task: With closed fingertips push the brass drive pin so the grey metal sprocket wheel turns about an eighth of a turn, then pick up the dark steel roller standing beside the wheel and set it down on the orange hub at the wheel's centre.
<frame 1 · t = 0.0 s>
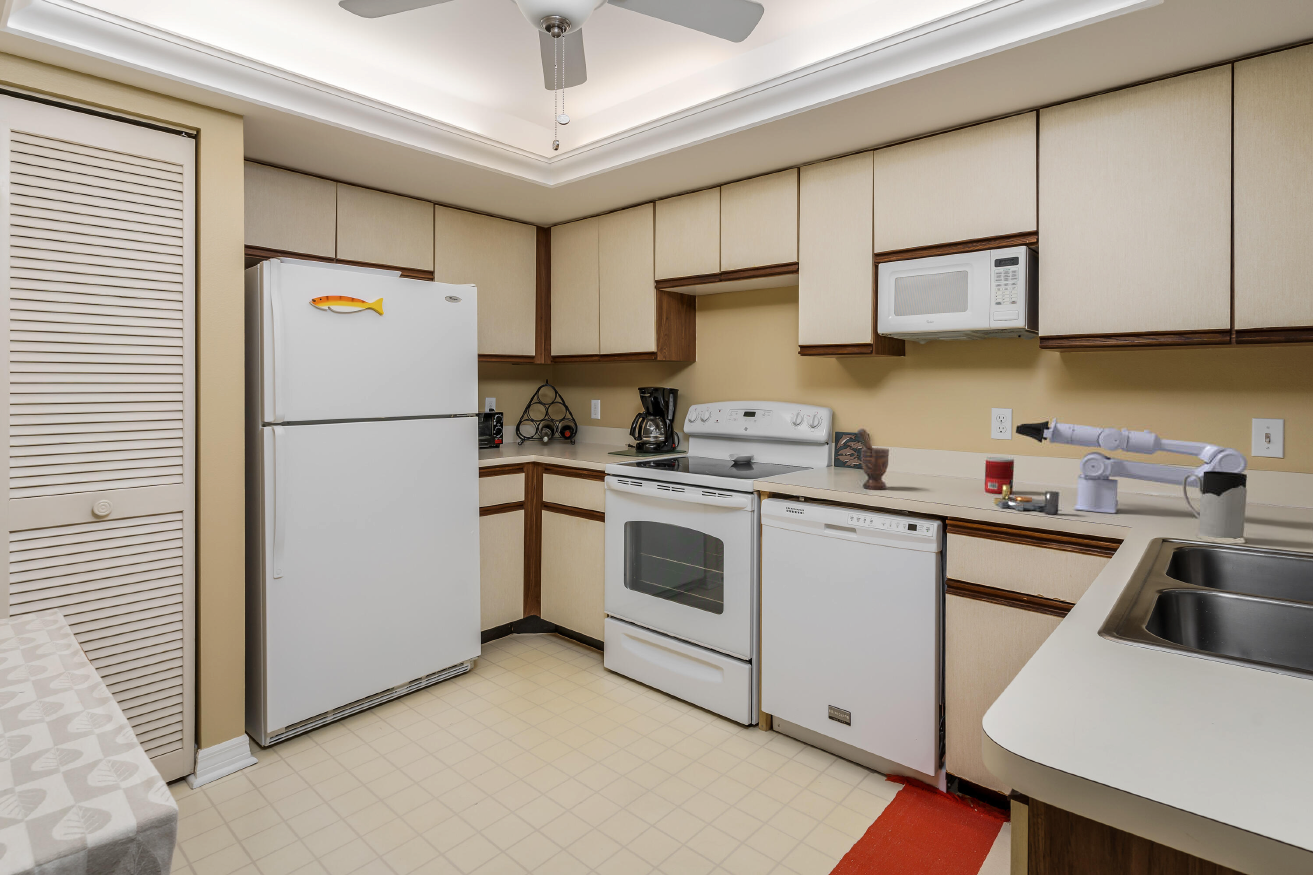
hand: (1018, 428, 198), 22 cm above the worktop, tool horizontal, fingers open, 7 cm apart
canned food: (998, 493, 217), on the worktop
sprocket: (1023, 496, 193), point 3 cm above the worktop, hinge at 0.0°
roller: (1051, 514, 183), on the worktop
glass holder: (1208, 537, 158), on the worktop
mortar and pestle: (872, 489, 225), on the worktop
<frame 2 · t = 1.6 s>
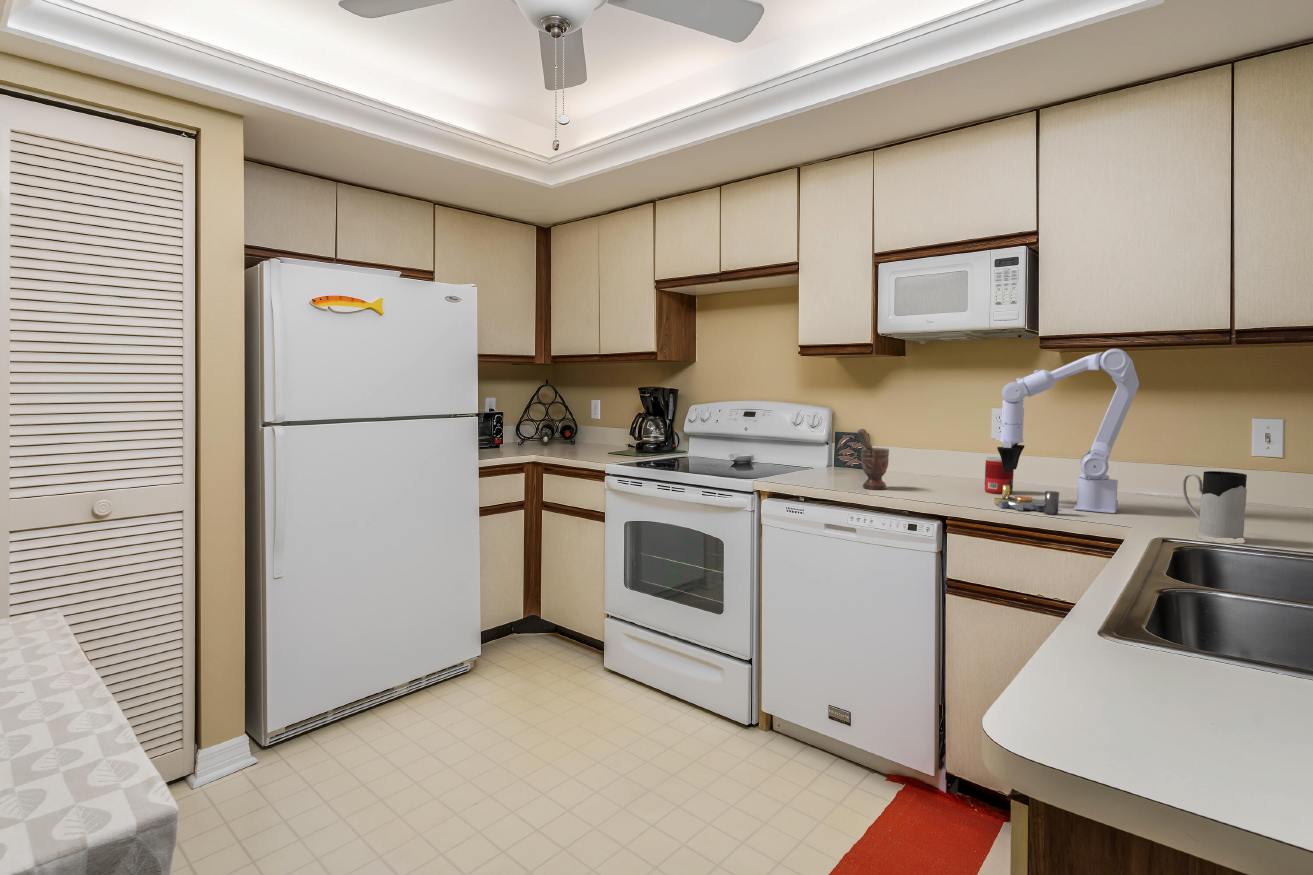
hand: (1010, 470, 199), 9 cm above the worktop, tool pointing down, fingers open, 7 cm apart
nothing on the worktop moved.
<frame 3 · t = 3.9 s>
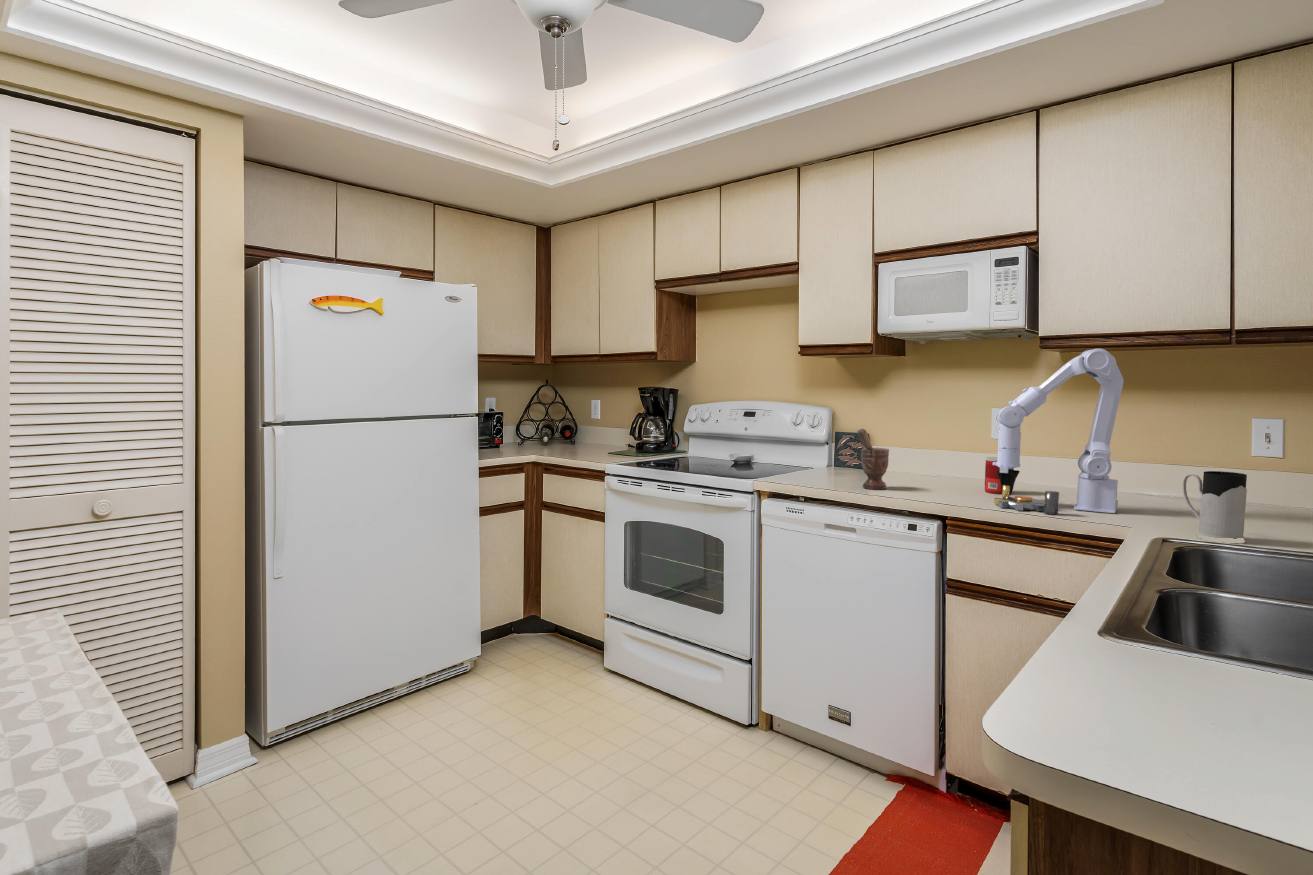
hand: (1006, 495, 197), 3 cm above the worktop, tool pointing down, fingers closed, pressing on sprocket
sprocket: (1023, 496, 193), point 3 cm above the worktop, hinge at 0.0°, touching gripper
everything else where it was.
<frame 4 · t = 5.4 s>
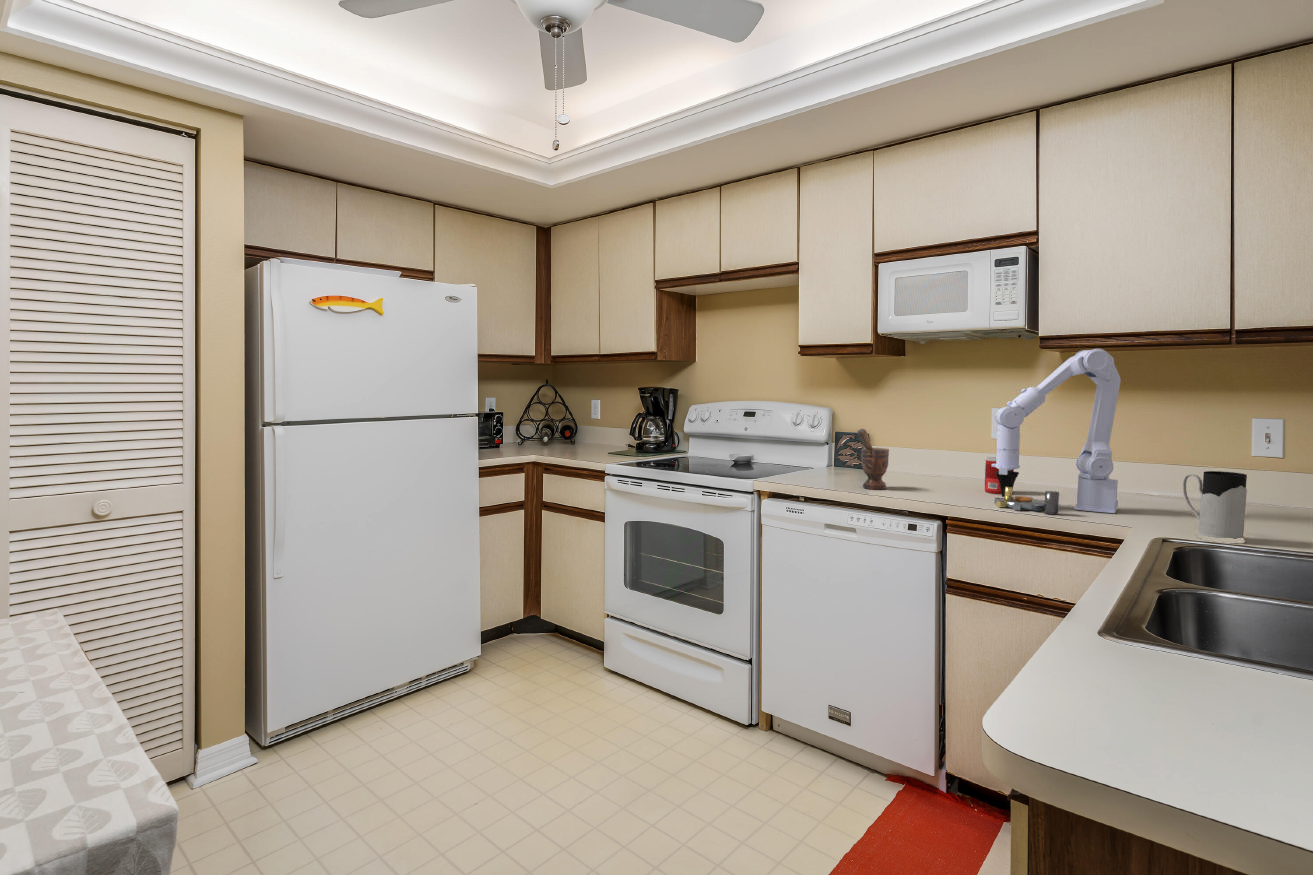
hand: (1006, 496, 194), 3 cm above the worktop, tool pointing down, fingers closed, pressing on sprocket
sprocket: (1023, 496, 193), point 3 cm above the worktop, hinge at 39.7°, touching gripper
everything else where it was.
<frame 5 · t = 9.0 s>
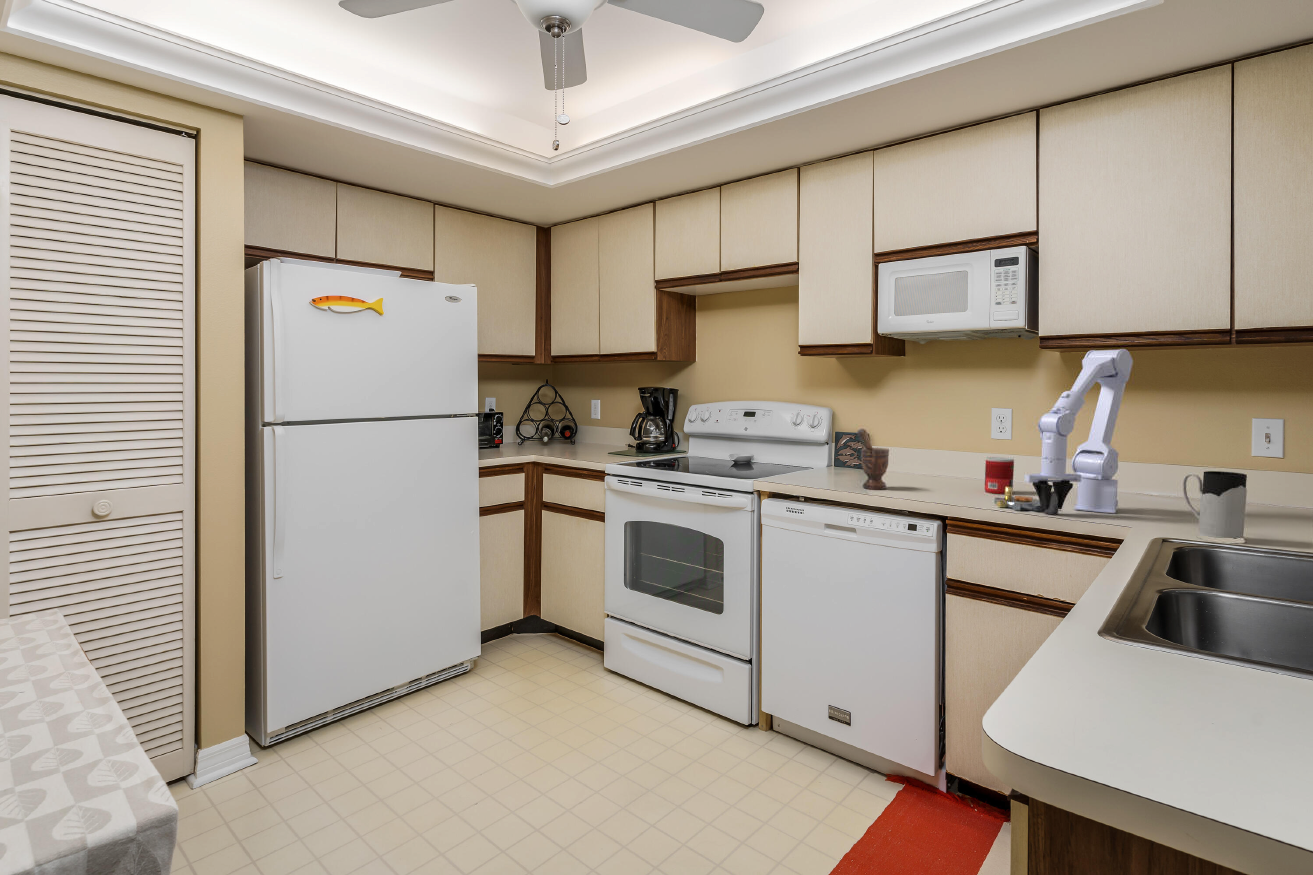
hand: (1051, 508, 183), 1 cm above the worktop, tool pointing down, fingers closed on roller, 3 cm apart
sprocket: (1023, 496, 193), point 3 cm above the worktop, hinge at 39.7°
roller: (1051, 514, 183), on the worktop, touching gripper
everything else where it was.
when the fingers open (5 cm above the worktop, at t = 11.4 s): roller stays where it is, resting on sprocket.
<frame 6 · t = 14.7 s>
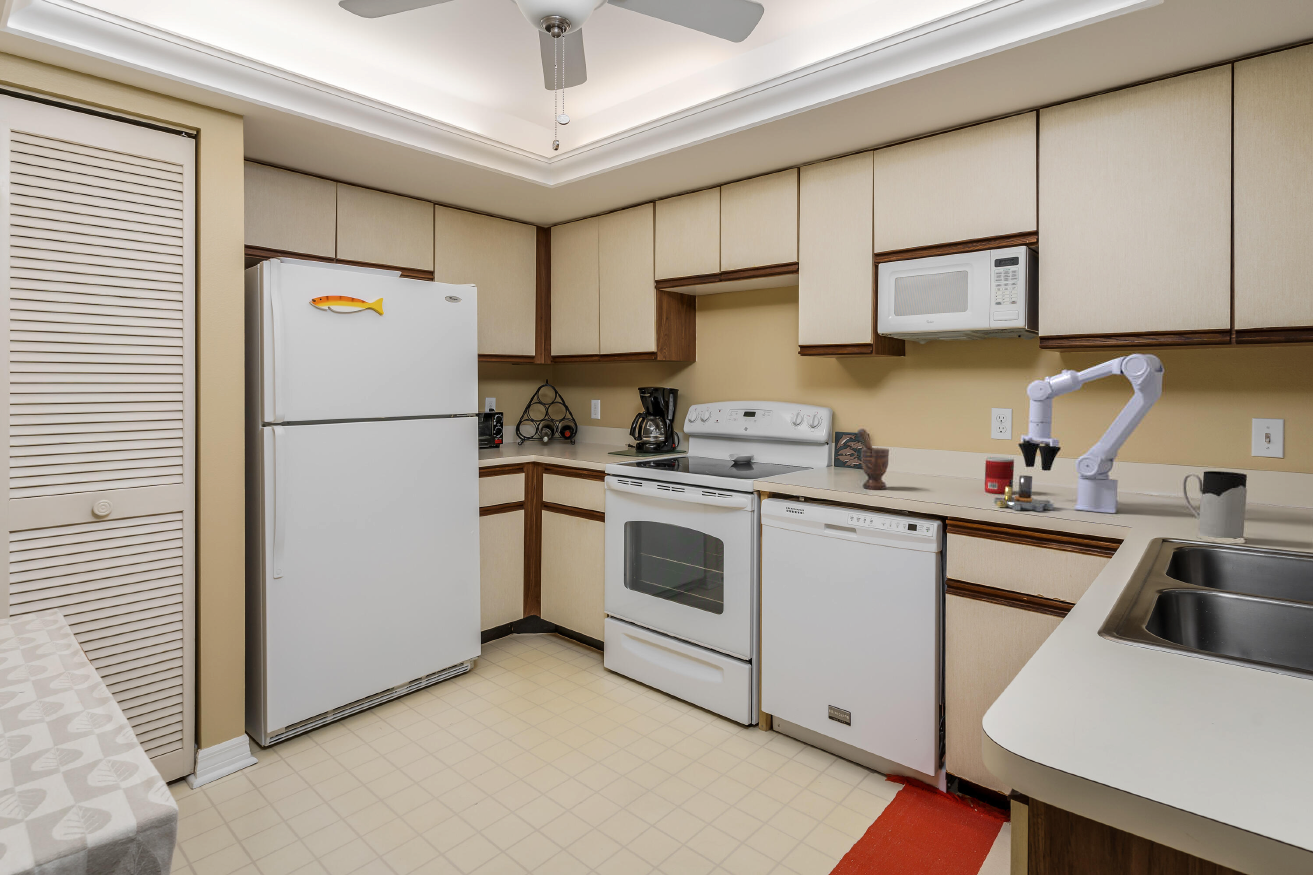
hand: (1037, 468, 200), 10 cm above the worktop, tool pointing down, fingers open, 7 cm apart
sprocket: (1023, 496, 193), point 3 cm above the worktop, hinge at 39.7°, touching roller
roller: (1024, 497, 193), point 3 cm above the worktop, touching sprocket
everything else where it was.
at the end: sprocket at +40° (first picture: +0°); roller 0.4 cm off-centre on the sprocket, point 2.8 cm above the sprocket's base; roller tilted 0° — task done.
